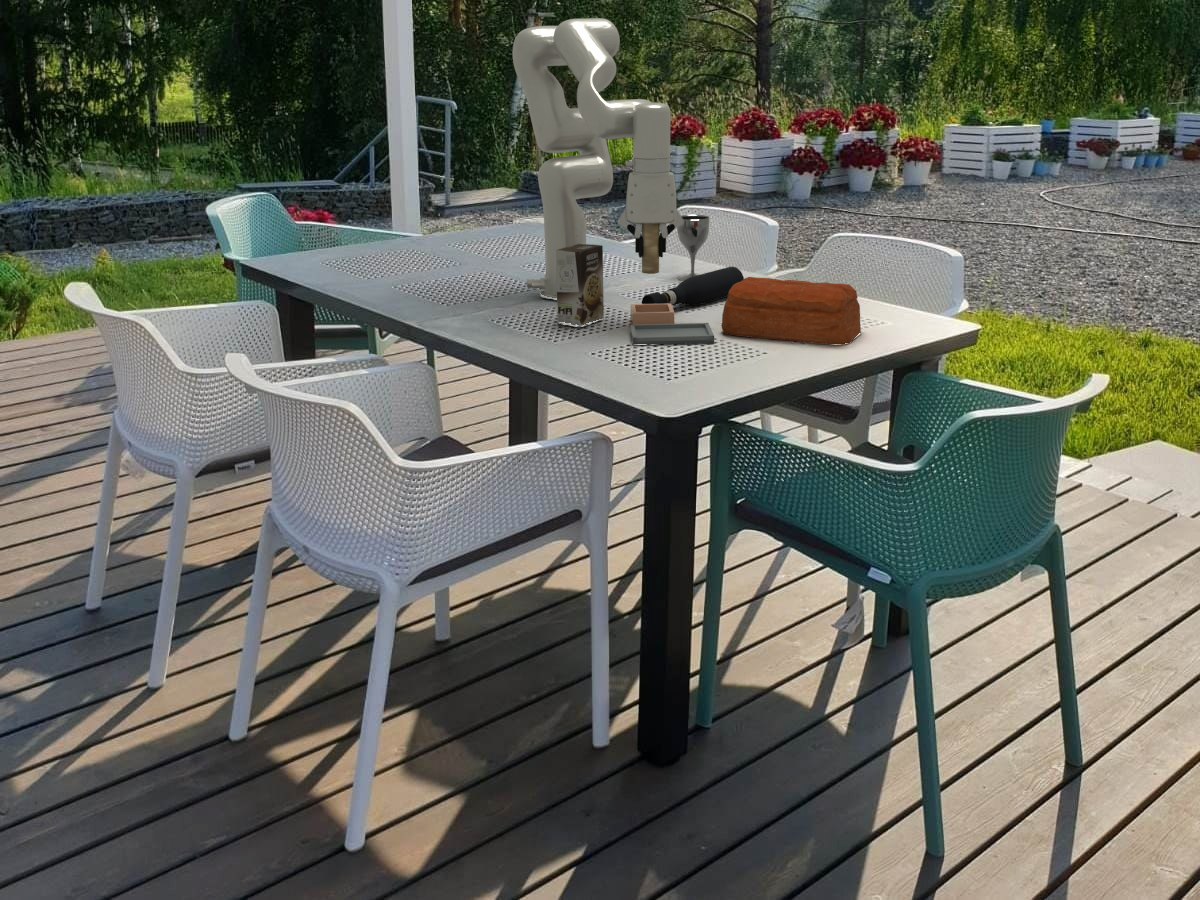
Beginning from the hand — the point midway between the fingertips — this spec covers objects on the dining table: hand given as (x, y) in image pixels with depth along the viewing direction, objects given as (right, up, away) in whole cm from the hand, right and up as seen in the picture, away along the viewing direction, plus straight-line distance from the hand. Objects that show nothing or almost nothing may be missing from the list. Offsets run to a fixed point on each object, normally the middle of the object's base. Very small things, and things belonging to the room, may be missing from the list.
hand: (650, 255), depth 256 cm
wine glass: (+12, +2, +48) cm, 50 cm away
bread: (+28, -17, -6) cm, 33 cm away
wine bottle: (+20, -1, +29) cm, 36 cm away
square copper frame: (+1, -14, +4) cm, 14 cm away
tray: (+4, -18, -8) cm, 20 cm away
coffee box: (-15, -14, +6) cm, 21 cm away
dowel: (0, -3, +1) cm, 4 cm away
